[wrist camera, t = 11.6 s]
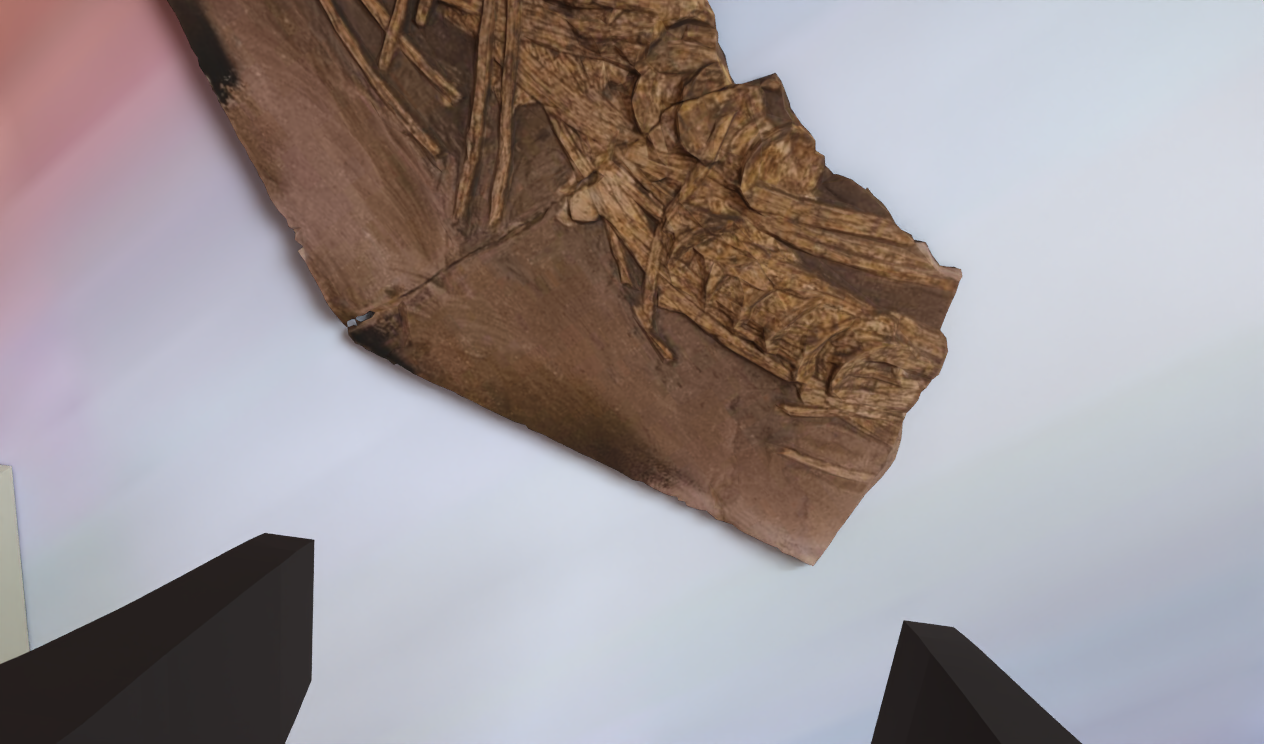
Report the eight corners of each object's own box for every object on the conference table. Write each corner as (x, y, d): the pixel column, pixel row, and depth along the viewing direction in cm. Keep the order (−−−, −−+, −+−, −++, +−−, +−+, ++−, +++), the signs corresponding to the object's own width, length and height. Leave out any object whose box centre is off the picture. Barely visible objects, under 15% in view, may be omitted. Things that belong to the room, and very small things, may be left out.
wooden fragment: (1047, 416, 20) (1066, 435, 20) (638, 657, 23) (636, 685, 22) (217, -874, 14) (182, -943, 13) (-215, -349, 17) (-271, -374, 16)
